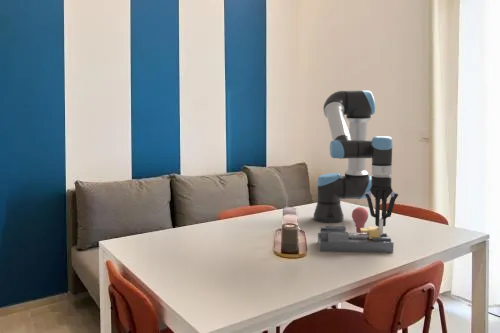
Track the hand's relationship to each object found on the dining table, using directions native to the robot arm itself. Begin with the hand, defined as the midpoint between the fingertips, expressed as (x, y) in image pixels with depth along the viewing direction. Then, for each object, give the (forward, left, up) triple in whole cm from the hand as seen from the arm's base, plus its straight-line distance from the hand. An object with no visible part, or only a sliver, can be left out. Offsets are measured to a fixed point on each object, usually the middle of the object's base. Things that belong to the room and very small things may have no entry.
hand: (380, 233), depth 167 cm
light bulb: (-17, +11, -6) cm, 21 cm away
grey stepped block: (-7, -7, -6) cm, 12 cm away
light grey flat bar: (-10, -10, -1) cm, 14 cm away
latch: (-3, -3, -1) cm, 4 cm away
